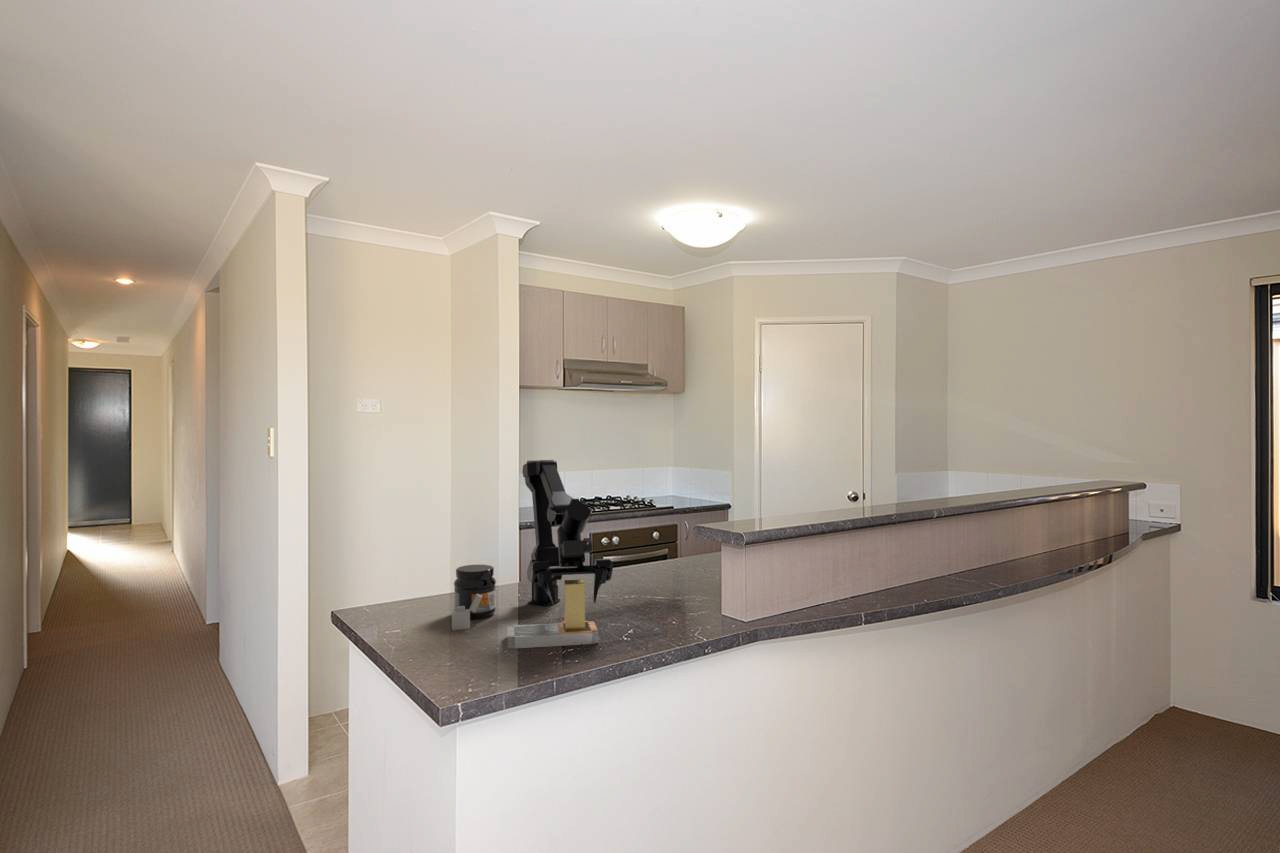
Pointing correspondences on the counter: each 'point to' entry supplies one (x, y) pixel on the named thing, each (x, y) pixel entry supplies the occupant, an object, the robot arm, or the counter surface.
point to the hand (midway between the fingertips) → (574, 603)
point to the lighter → (464, 614)
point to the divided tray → (549, 635)
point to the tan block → (574, 605)
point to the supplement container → (475, 589)
